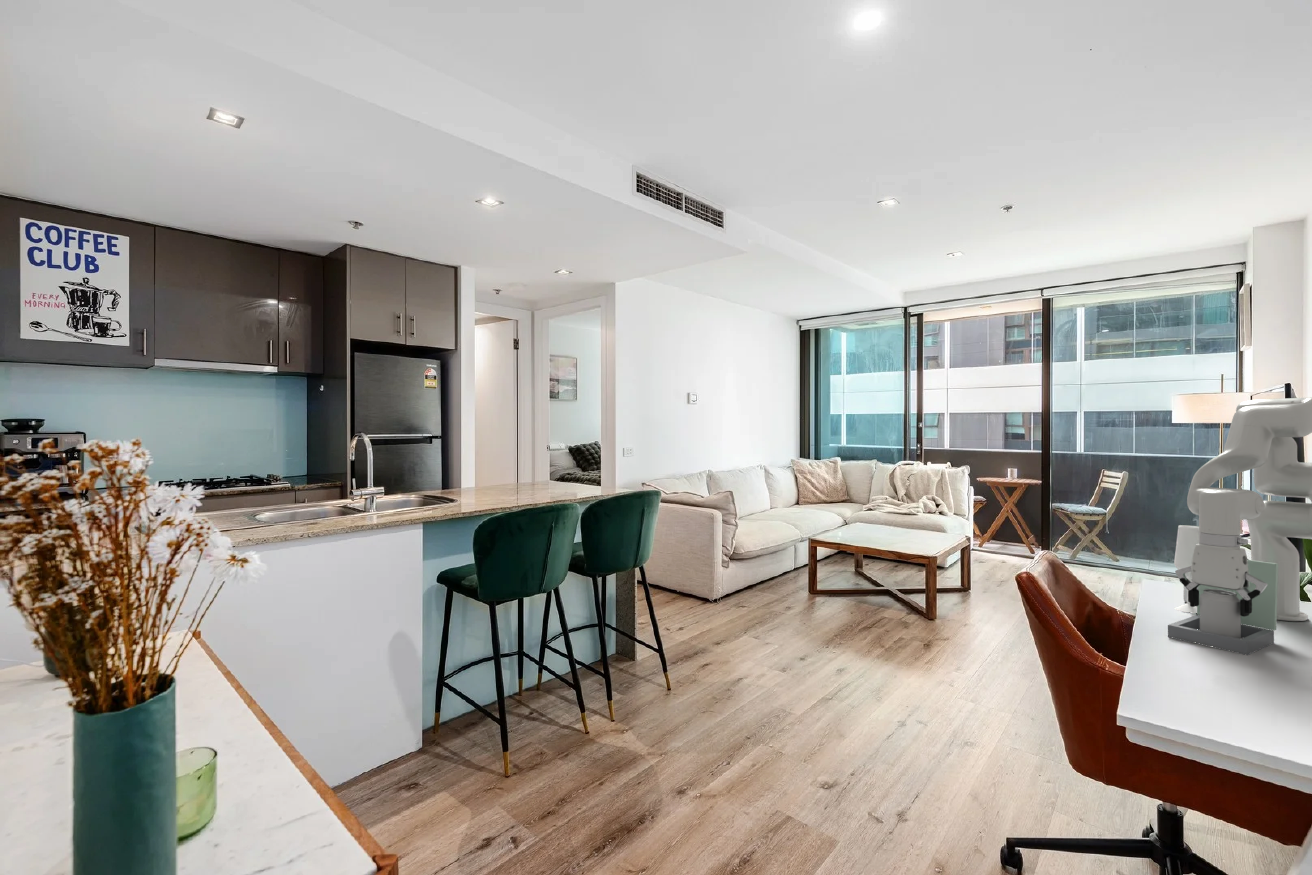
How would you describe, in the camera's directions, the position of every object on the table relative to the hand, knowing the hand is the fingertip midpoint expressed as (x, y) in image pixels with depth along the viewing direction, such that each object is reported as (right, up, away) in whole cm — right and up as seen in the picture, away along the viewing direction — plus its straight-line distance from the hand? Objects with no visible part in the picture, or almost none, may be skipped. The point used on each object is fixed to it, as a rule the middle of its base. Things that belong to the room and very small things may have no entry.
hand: (1219, 610), depth 153 cm
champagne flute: (+15, -7, +25) cm, 30 cm away
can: (+1, -8, 0) cm, 8 cm away
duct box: (+1, -7, 0) cm, 7 cm away
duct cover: (+8, +4, +5) cm, 10 cm away
